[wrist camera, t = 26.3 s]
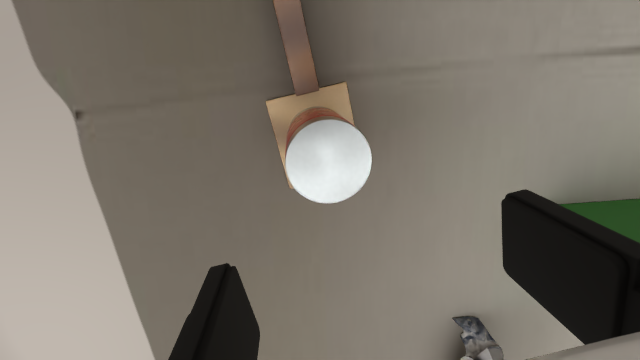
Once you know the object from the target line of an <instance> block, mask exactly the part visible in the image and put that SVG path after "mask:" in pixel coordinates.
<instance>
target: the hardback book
mask: <svg viewBox="0 0 640 360" xmlns="http://www.w3.org/2000/svg"><path fill="white" fill-rule="evenodd" d="M559 205H561V206H563V207H565V208H567V209H569V210H571V211H573V212H575V213H577V214H580V215H582V216H584V217H586V218H588V219H590V220H592V221H594V222H597V223H599V224H601V225H603V226H605V227H607V228H609V229H611V230H613V231H616V232H618V233H620V234H622V235H624V236H626V237H628V238H630V239H632V240H635V241H637V242H639V243H640V199H631V200H616V201H602V202H588V203H573V204H559Z"/></svg>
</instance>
